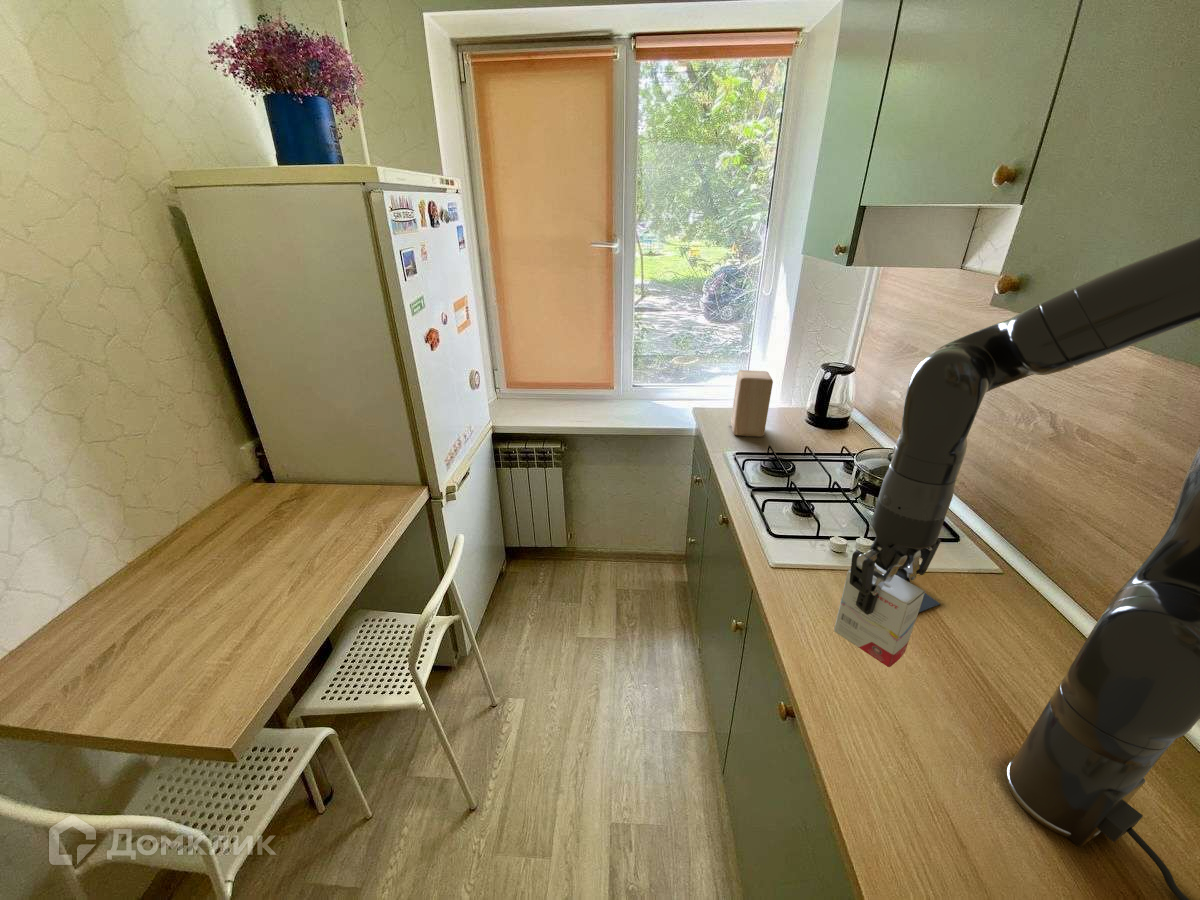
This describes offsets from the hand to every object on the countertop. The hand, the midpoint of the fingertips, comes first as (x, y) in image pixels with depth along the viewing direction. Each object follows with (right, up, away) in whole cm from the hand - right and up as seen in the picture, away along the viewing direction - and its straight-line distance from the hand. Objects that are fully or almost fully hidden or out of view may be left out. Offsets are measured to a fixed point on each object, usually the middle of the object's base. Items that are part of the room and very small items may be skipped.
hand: (879, 603), depth 69 cm
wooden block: (+10, +28, +97) cm, 102 cm away
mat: (+19, -7, +26) cm, 33 cm away
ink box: (0, -7, +3) cm, 8 cm away
